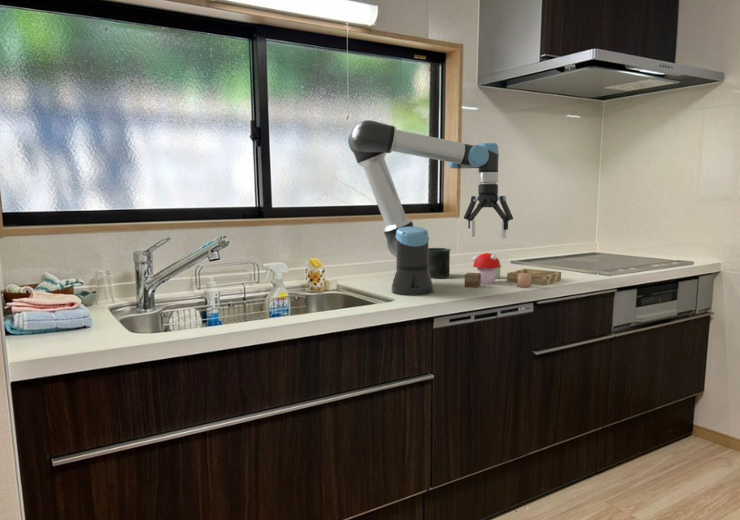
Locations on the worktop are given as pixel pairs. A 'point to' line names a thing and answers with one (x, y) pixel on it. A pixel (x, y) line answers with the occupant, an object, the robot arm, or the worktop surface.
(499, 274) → the sage block
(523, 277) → the peach rounded block
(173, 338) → the worktop surface
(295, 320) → the worktop surface
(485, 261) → the mushroom
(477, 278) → the walnut block
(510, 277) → the bamboo tray
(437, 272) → the mug
